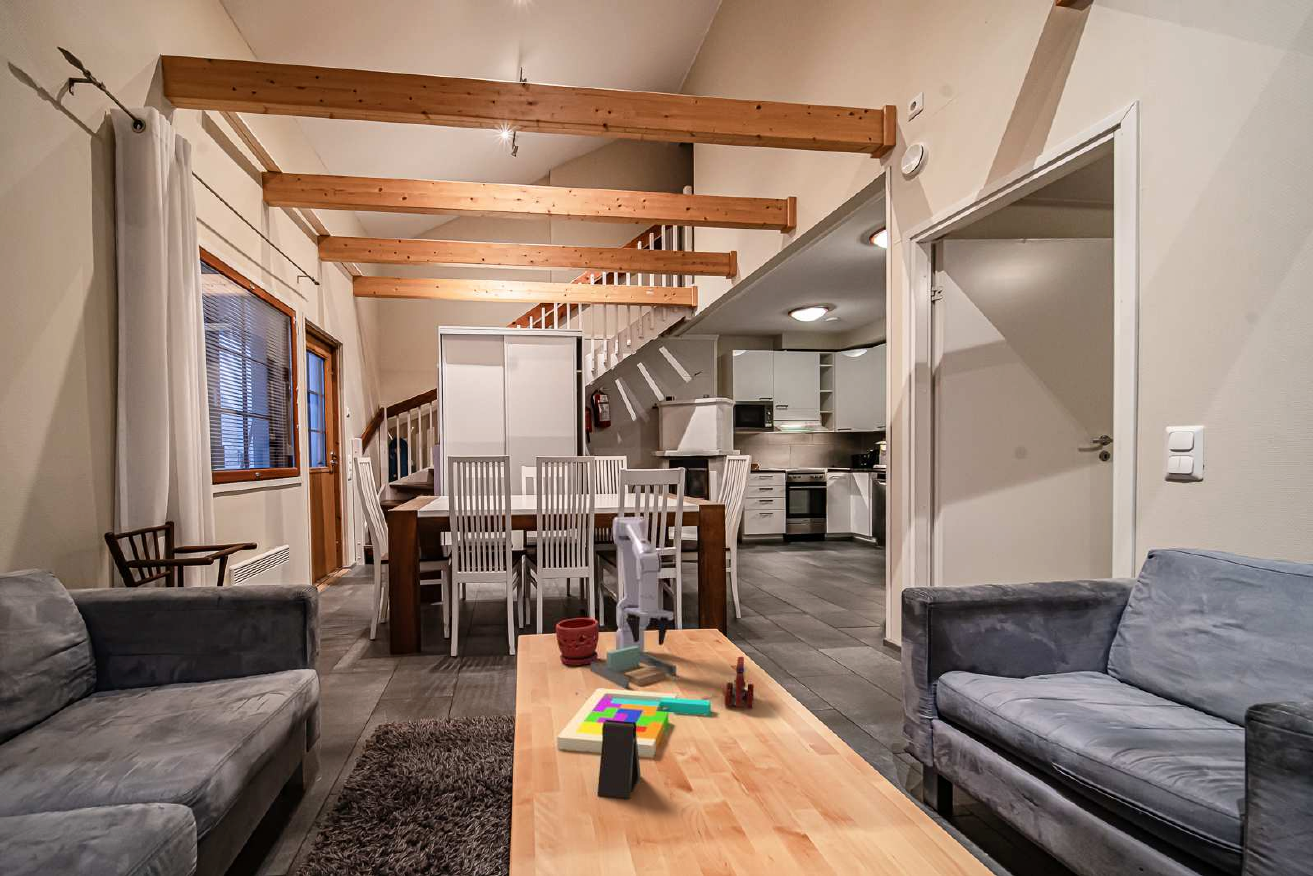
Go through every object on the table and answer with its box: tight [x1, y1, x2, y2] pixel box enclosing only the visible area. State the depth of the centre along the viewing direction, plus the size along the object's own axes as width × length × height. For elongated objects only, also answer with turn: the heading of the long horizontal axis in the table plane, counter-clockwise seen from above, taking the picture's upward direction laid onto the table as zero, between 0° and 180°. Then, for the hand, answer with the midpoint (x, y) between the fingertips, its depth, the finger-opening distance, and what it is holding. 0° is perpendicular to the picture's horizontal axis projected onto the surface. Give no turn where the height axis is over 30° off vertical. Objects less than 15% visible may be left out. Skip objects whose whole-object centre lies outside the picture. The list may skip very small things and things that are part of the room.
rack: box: [590, 651, 677, 690], centre depth 181 cm, size 18×17×4 cm
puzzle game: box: [556, 687, 712, 758], centre depth 148 cm, size 30×3×30 cm
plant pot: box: [555, 617, 600, 667], centre depth 196 cm, size 13×13×12 cm
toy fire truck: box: [724, 656, 755, 709], centre depth 162 cm, size 7×12×10 cm, turn 169°
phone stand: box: [597, 720, 642, 800], centre depth 121 cm, size 9×6×12 cm, turn 167°
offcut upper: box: [624, 666, 667, 687], centre depth 176 cm, size 6×10×2 cm, turn 130°
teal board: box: [606, 646, 640, 673], centre depth 185 cm, size 2×10×7 cm, turn 127°
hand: (648, 642), depth 182 cm, fingers open, 7 cm apart
